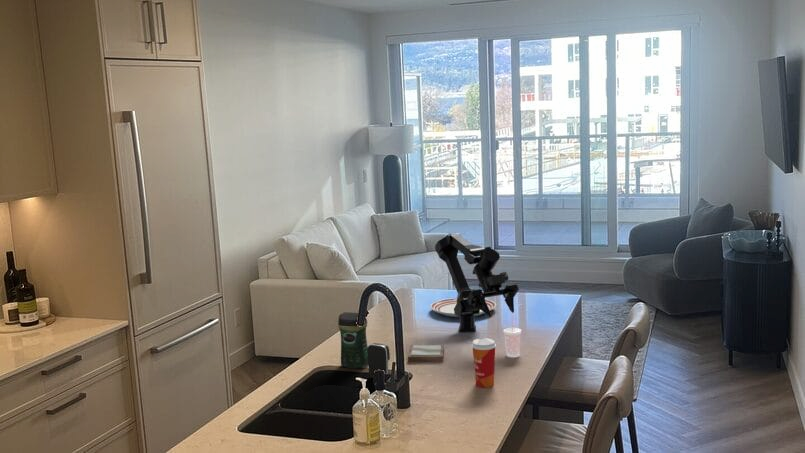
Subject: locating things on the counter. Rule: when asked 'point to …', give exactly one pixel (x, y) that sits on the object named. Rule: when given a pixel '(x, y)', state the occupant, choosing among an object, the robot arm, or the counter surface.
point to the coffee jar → (352, 341)
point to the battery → (377, 357)
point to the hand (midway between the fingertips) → (501, 314)
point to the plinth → (426, 353)
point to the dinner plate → (449, 304)
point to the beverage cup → (512, 341)
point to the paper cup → (484, 362)
